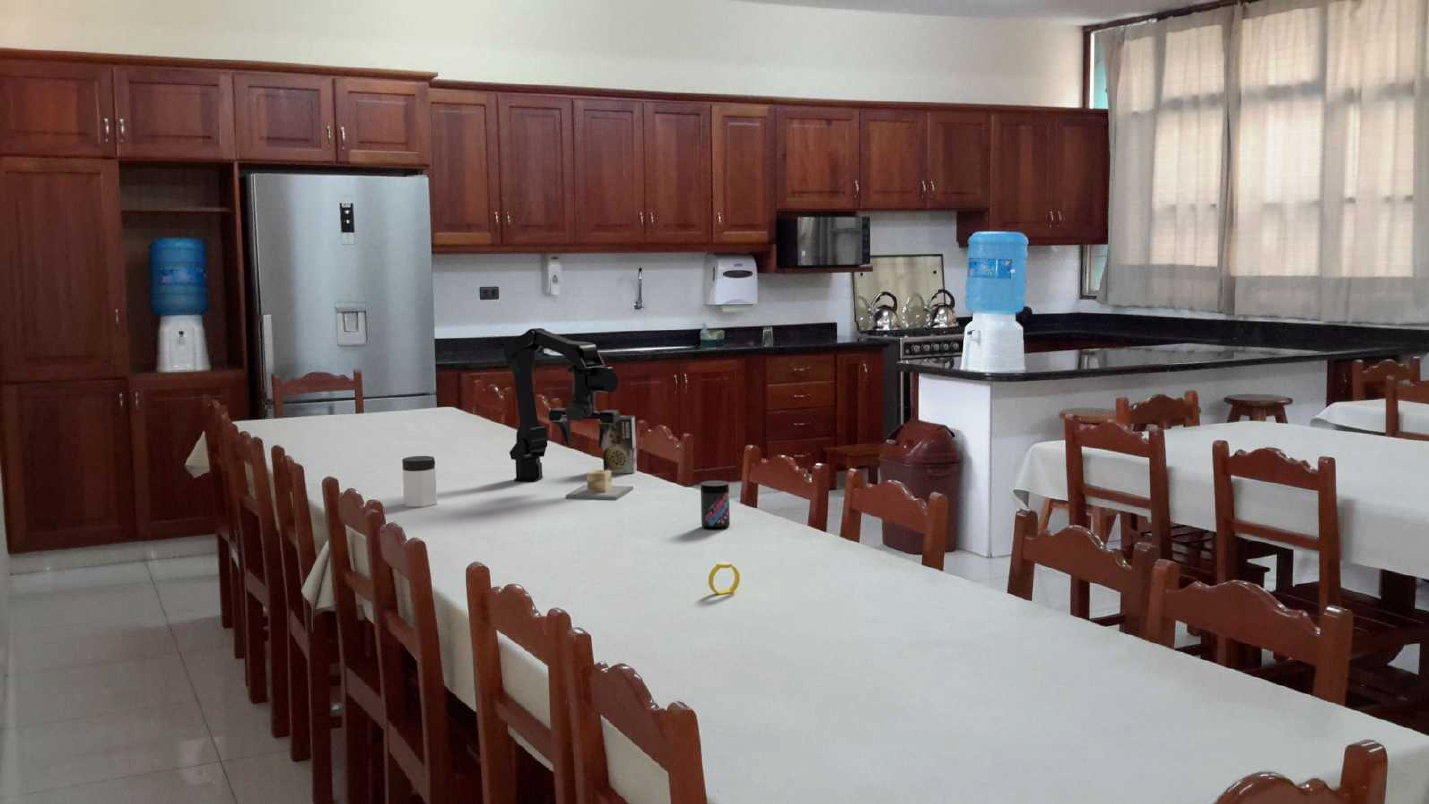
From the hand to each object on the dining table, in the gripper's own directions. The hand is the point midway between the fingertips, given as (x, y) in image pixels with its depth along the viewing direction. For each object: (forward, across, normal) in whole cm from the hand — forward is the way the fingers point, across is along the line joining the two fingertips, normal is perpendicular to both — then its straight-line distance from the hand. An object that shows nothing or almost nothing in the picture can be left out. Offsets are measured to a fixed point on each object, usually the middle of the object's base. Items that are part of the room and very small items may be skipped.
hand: (584, 446), depth 339 cm
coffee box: (+12, +1, +25) cm, 28 cm away
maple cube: (+10, +7, -6) cm, 14 cm away
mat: (+11, +7, -6) cm, 15 cm away
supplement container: (+10, +47, -39) cm, 62 cm away
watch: (+9, +63, -92) cm, 112 cm away
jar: (+12, -35, -27) cm, 46 cm away
